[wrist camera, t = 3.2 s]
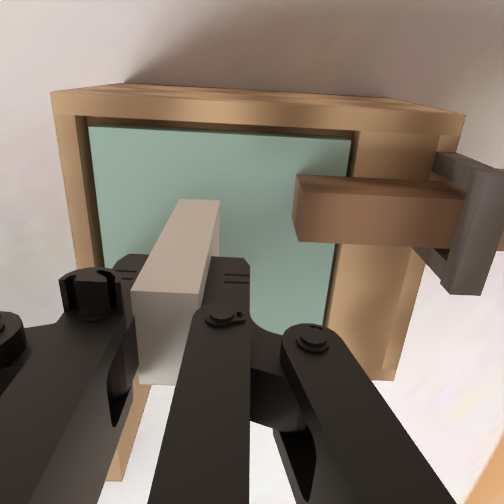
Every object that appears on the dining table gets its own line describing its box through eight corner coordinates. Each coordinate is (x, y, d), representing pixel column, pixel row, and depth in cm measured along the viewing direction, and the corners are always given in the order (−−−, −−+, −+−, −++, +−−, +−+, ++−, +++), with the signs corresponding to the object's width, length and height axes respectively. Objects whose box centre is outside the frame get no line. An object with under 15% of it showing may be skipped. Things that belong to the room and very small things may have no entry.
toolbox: (139, 280, 37) (60, 435, 21) (123, 82, 29) (-15, 99, 14) (396, 291, 37) (501, 448, 22) (443, 101, 30) (648, 136, 15)
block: (290, 226, 21) (298, 257, 18) (297, 164, 20) (307, 184, 16) (526, 237, 22) (578, 269, 18) (549, 177, 20) (610, 199, 17)
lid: (122, 338, 26) (41, 514, 16) (98, 122, 20) (-56, 179, 10) (313, 345, 27) (354, 521, 16) (344, 136, 21) (440, 203, 10)
